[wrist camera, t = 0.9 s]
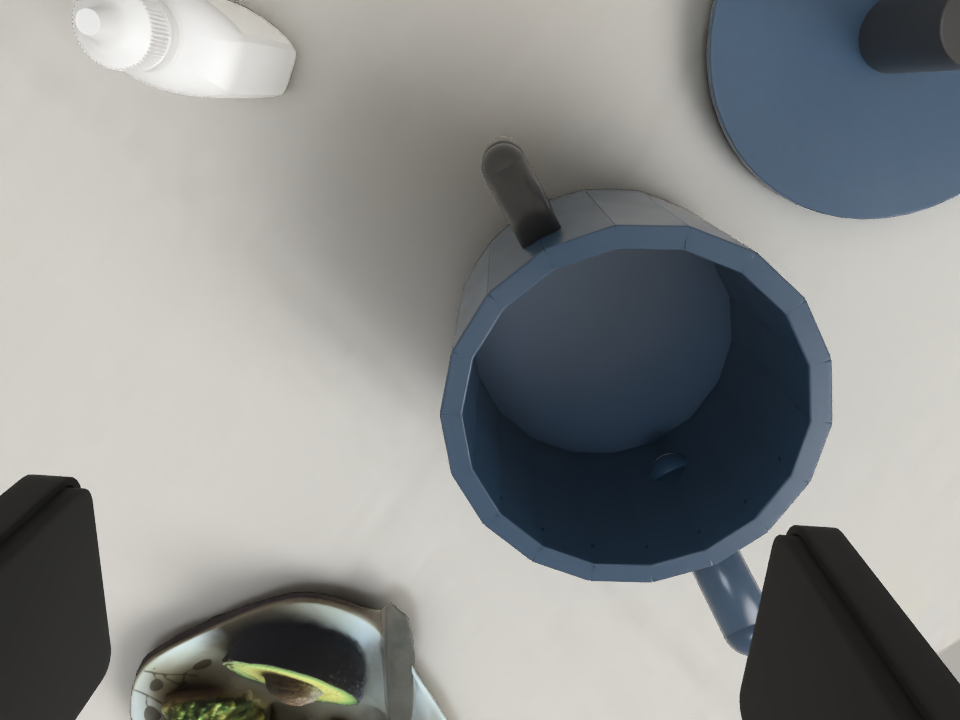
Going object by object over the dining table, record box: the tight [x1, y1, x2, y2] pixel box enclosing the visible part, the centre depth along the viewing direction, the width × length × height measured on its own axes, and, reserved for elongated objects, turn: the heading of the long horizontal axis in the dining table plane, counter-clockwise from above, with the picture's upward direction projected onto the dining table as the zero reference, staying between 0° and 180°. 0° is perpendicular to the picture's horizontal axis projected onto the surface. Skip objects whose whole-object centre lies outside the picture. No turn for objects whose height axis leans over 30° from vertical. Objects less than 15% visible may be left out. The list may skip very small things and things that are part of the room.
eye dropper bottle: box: [72, 0, 296, 98], centre depth 27 cm, size 4×6×12 cm
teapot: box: [440, 189, 832, 582], centre depth 31 cm, size 14×14×10 cm
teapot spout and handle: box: [481, 137, 762, 656], centre depth 31 cm, size 2×23×8 cm, turn 30°
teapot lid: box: [706, 0, 960, 219], centre depth 28 cm, size 15×15×7 cm
